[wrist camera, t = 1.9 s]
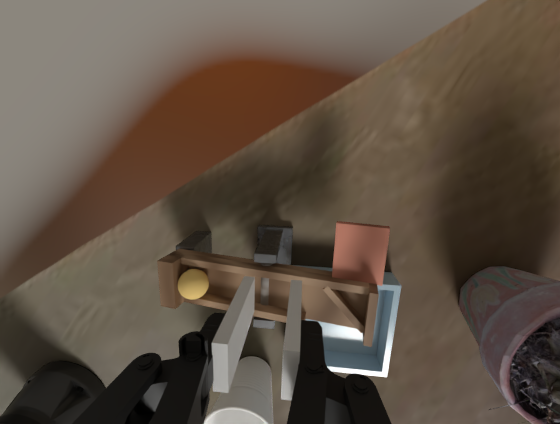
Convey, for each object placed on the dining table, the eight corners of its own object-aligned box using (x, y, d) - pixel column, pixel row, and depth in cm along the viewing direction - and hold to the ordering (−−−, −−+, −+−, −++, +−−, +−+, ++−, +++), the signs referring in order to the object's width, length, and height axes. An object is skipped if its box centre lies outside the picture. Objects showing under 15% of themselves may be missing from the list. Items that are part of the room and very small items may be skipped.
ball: (190, 287, 33) (171, 302, 30) (188, 262, 33) (170, 274, 29) (214, 292, 33) (198, 308, 29) (214, 266, 32) (197, 279, 28)
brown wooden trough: (182, 291, 35) (161, 309, 31) (177, 203, 33) (153, 210, 29) (373, 329, 29) (376, 357, 25) (388, 224, 26) (394, 236, 22)
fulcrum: (258, 283, 41) (242, 327, 31) (258, 224, 39) (242, 251, 29) (289, 286, 41) (284, 331, 31) (292, 226, 38) (288, 254, 28)
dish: (288, 347, 43) (286, 366, 39) (292, 265, 40) (290, 277, 36) (379, 356, 42) (387, 377, 38) (391, 272, 39) (401, 285, 35)
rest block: (197, 269, 41) (178, 291, 35) (195, 231, 40) (175, 246, 34) (212, 271, 41) (195, 292, 35) (211, 232, 40) (193, 247, 34)
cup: (242, 334, 43) (221, 394, 33) (293, 364, 44) (289, 432, 33) (215, 375, 46) (188, 443, 35) (264, 402, 46) (252, 478, 36)
